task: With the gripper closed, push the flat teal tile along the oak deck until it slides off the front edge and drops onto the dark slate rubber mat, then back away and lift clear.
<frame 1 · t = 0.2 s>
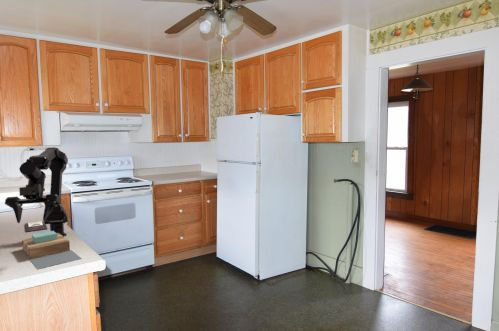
hand: (31, 221, 137), 14 cm above the table, tool tilted 30°, fingers open, 9 cm apart
oak deck: (46, 249, 148), on the table
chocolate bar: (36, 227, 184), on the table
slate mat: (55, 259, 137), on the table
teal tile: (44, 237, 148), point 5 cm above the table, touching oak deck
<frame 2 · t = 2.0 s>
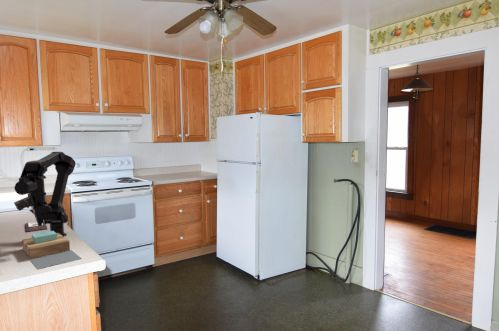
hand: (39, 225, 154), 8 cm above the table, tool pointing down, fingers closed
nothing on the table moved.
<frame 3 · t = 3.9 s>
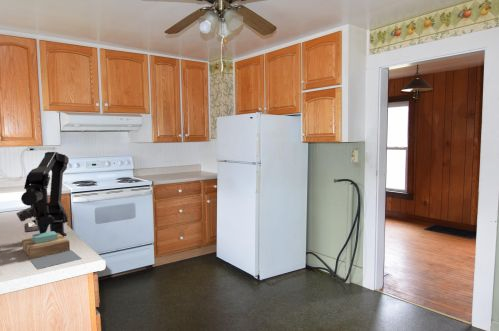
hand: (42, 236, 151), 5 cm above the table, tool pointing down, fingers closed
teal tile: (45, 237, 148), point 5 cm above the table, touching gripper, oak deck
everything else where it was.
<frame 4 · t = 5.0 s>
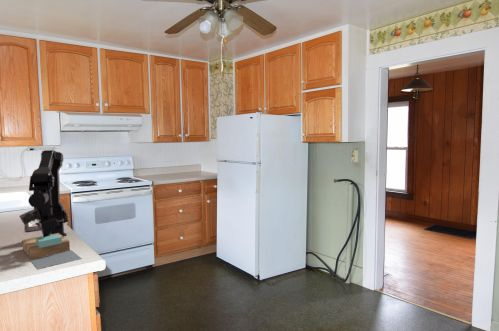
hand: (46, 239, 146), 5 cm above the table, tool pointing down, fingers closed
teal tile: (48, 240, 143), point 5 cm above the table, touching gripper, oak deck
everything else where it was.
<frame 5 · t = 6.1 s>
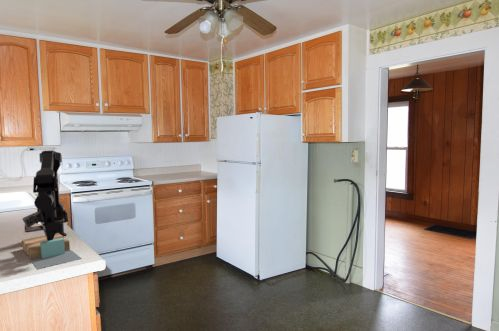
hand: (49, 243, 142), 5 cm above the table, tool pointing down, fingers closed
teal tile: (52, 247, 140), point 3 cm above the table, tilted 91°, touching gripper, slate mat
everything else where it was.
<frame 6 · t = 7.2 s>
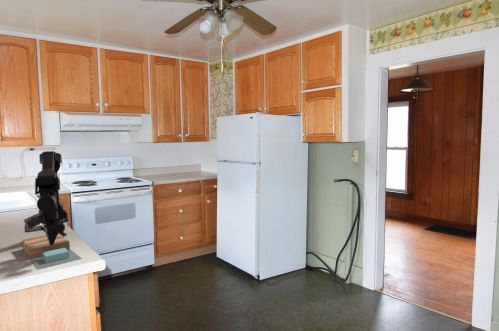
hand: (51, 244, 140), 5 cm above the table, tool pointing down, fingers closed
teal tile: (55, 255, 138), point 1 cm above the table, tilted 180°, touching slate mat
everything else where it was.
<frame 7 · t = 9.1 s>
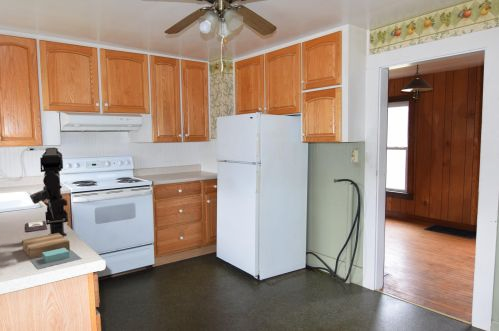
hand: (55, 219, 153), 11 cm above the table, tool pointing down, fingers closed
nothing on the table moved.
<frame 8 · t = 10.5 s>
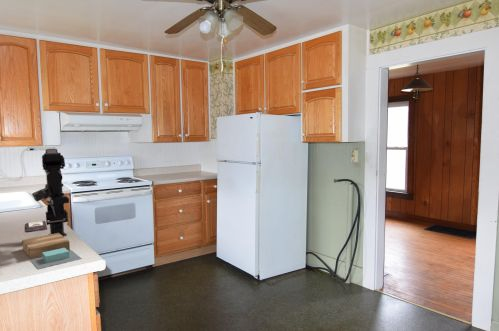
hand: (56, 217, 154), 12 cm above the table, tool pointing down, fingers closed
nothing on the table moved.
at the end: teal tile inside the target area on the slate mat (0.9 cm from its centre), point 1.3 cm above the slate mat's base; teal tile point 1.3 cm above the table; the gripper is holding nothing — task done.
